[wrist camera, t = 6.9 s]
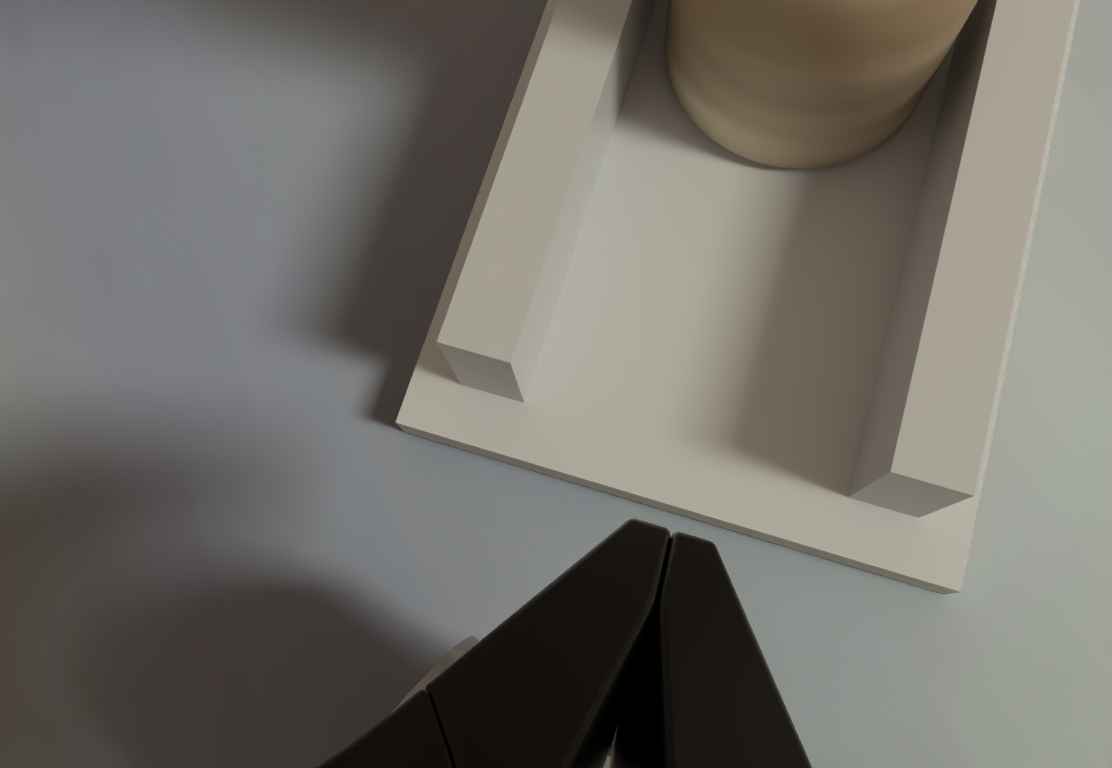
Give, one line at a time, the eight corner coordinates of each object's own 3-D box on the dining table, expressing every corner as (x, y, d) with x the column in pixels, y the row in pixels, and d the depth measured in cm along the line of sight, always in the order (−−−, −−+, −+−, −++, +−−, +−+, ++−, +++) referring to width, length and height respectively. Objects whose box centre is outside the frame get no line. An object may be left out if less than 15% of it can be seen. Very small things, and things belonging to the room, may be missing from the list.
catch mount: (944, 594, 16) (1085, 574, 12) (404, 432, 18) (327, 353, 13) (1101, -171, 20) (1255, -424, 15) (651, -258, 22) (664, -517, 17)
